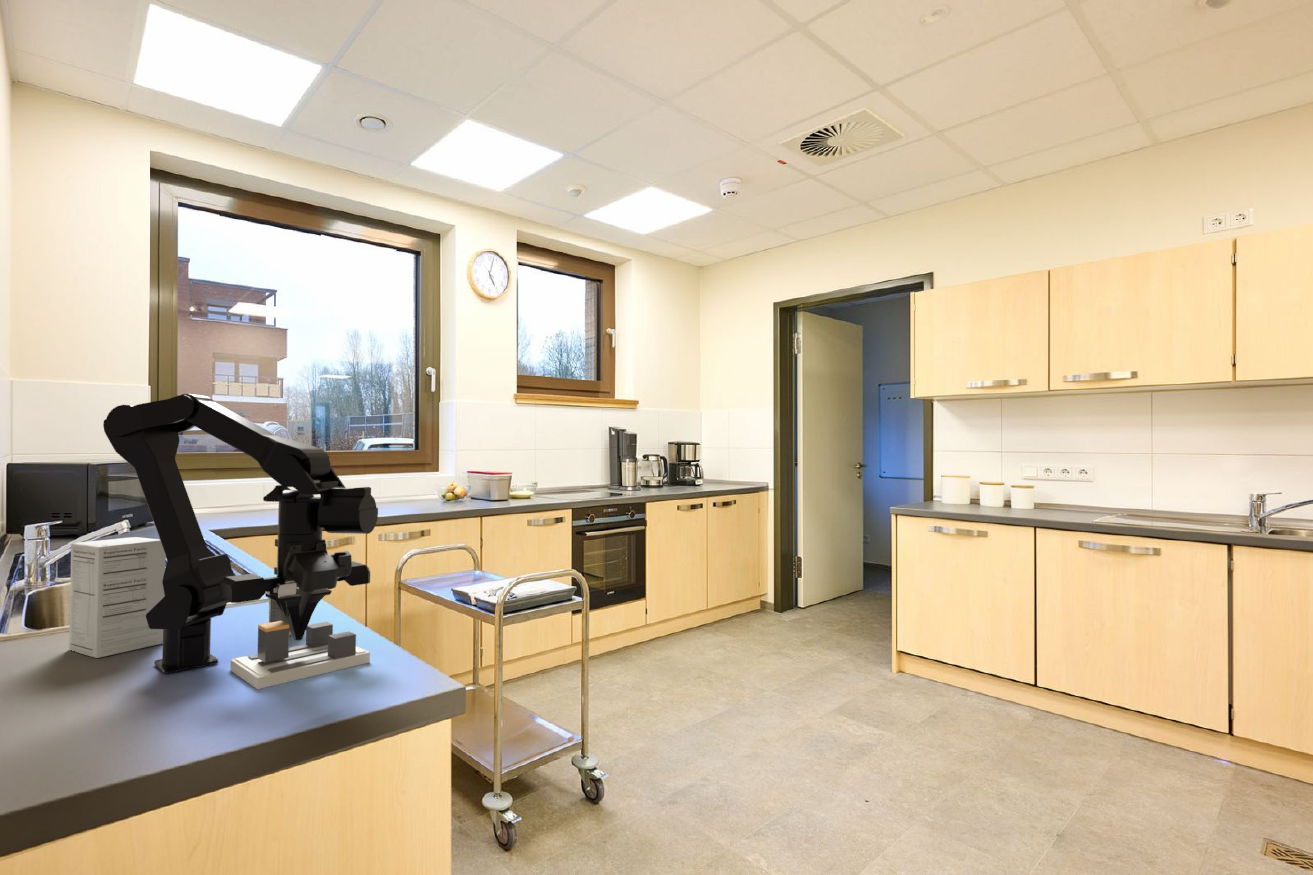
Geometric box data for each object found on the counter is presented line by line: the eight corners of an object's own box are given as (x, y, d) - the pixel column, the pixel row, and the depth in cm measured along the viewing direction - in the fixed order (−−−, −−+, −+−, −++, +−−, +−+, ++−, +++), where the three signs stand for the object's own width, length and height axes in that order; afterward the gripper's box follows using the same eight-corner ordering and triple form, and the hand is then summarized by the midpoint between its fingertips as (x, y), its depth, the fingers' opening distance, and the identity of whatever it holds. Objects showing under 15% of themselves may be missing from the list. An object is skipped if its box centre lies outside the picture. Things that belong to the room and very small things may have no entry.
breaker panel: (230, 670, 93) (231, 638, 93) (337, 647, 105) (338, 619, 105) (257, 689, 86) (258, 654, 86) (369, 662, 97) (370, 632, 97)
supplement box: (166, 643, 105) (168, 539, 106) (96, 659, 97) (99, 546, 98) (135, 635, 110) (138, 535, 110) (66, 650, 102) (69, 542, 102)
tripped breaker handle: (257, 658, 92) (258, 624, 92) (280, 653, 95) (281, 620, 95) (265, 662, 90) (265, 628, 90) (288, 657, 93) (289, 624, 93)
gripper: (247, 544, 83) (244, 668, 83) (388, 532, 97) (386, 637, 97) (219, 536, 90) (216, 649, 90) (354, 525, 104) (352, 623, 104)
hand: (297, 639), depth 95 cm, fingers closed
